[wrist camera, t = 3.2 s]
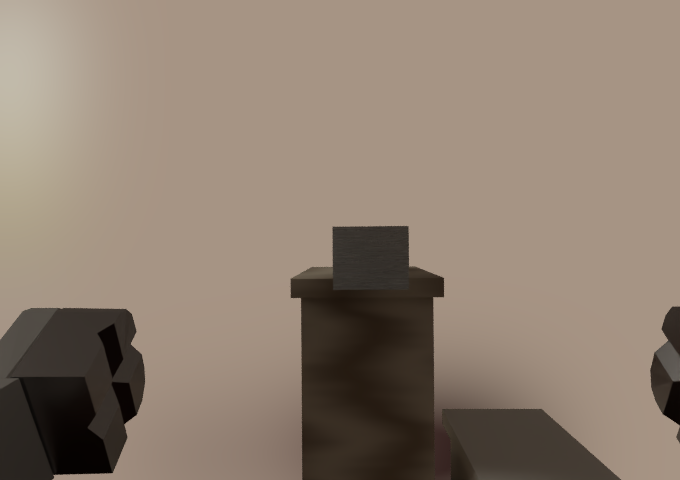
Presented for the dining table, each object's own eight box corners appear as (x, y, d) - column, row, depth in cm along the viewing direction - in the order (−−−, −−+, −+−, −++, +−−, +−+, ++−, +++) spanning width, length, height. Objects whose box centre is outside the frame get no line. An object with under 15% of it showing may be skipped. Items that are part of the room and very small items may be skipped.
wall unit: (294, 777, 33) (290, 278, 33) (314, 602, 49) (311, 267, 49) (448, 778, 33) (443, 277, 33) (417, 602, 49) (414, 266, 49)
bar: (410, 289, 25) (409, 218, 25) (331, 289, 25) (331, 219, 25) (384, 267, 47) (384, 230, 47) (342, 268, 47) (342, 230, 47)
